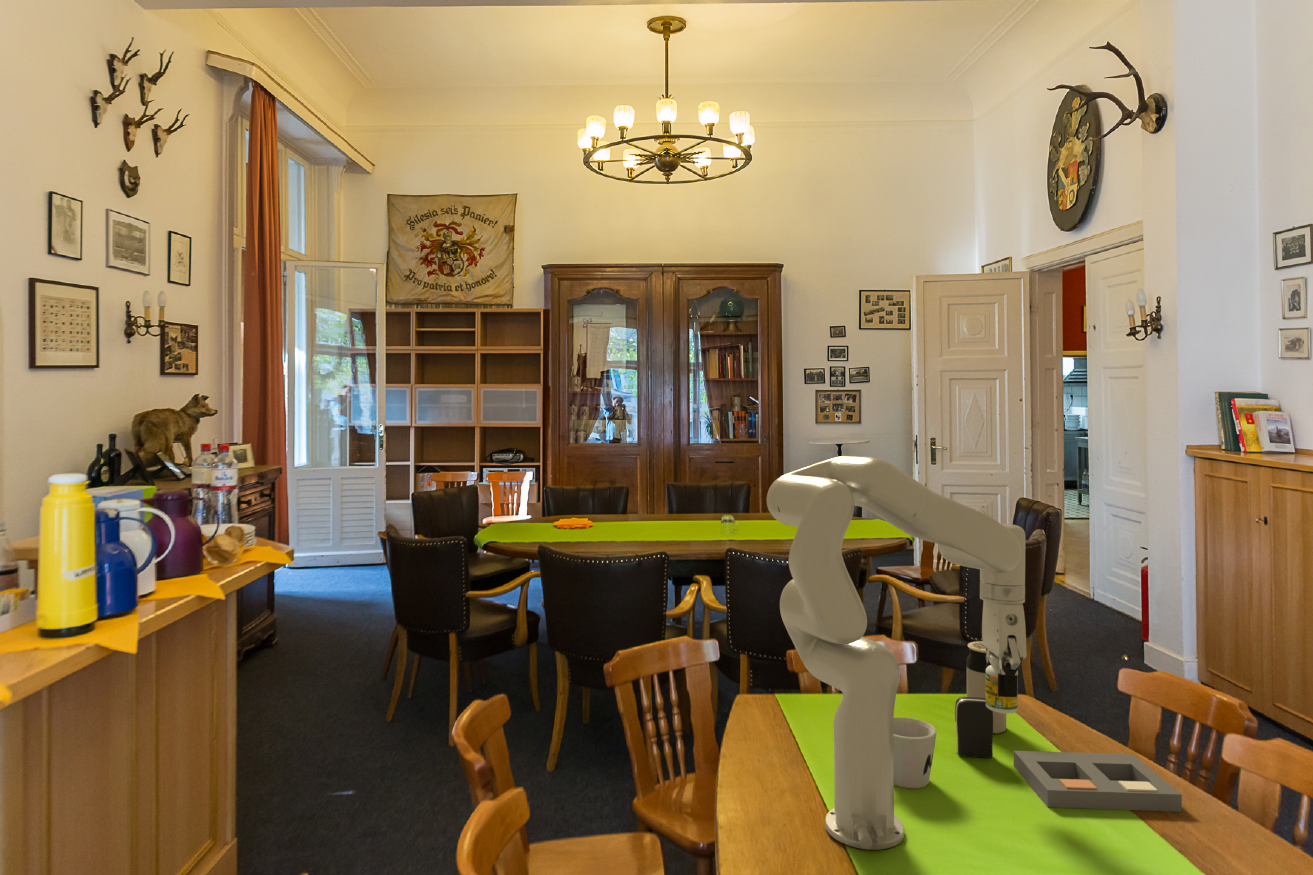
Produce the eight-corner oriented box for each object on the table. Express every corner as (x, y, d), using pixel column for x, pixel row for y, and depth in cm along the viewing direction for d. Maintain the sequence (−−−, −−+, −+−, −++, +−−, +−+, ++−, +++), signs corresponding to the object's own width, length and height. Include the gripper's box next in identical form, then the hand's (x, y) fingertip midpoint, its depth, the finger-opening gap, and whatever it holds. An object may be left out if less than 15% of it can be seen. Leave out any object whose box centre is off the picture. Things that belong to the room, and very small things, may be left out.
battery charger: (989, 751, 155) (989, 695, 155) (994, 759, 151) (994, 702, 151) (953, 748, 156) (953, 693, 156) (957, 756, 153) (957, 700, 153)
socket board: (1181, 811, 130) (1181, 792, 130) (1047, 807, 132) (1047, 788, 132) (1132, 769, 146) (1132, 752, 146) (1013, 765, 148) (1013, 749, 148)
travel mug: (958, 724, 169) (958, 643, 169) (984, 717, 172) (984, 639, 172) (988, 737, 162) (987, 653, 162) (1014, 730, 165) (1014, 648, 165)
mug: (941, 795, 137) (941, 740, 137) (856, 788, 140) (855, 734, 140) (932, 769, 147) (932, 718, 147) (853, 763, 150) (852, 713, 150)
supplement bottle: (1024, 712, 138) (1024, 659, 138) (999, 715, 136) (1000, 662, 136) (1002, 702, 143) (1002, 651, 143) (978, 705, 141) (979, 653, 141)
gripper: (1042, 603, 130) (1041, 708, 131) (1006, 583, 147) (1005, 676, 148) (997, 601, 131) (996, 706, 131) (966, 582, 148) (965, 674, 148)
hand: (1001, 689), depth 139 cm, fingers closed on supplement bottle, 5 cm apart
